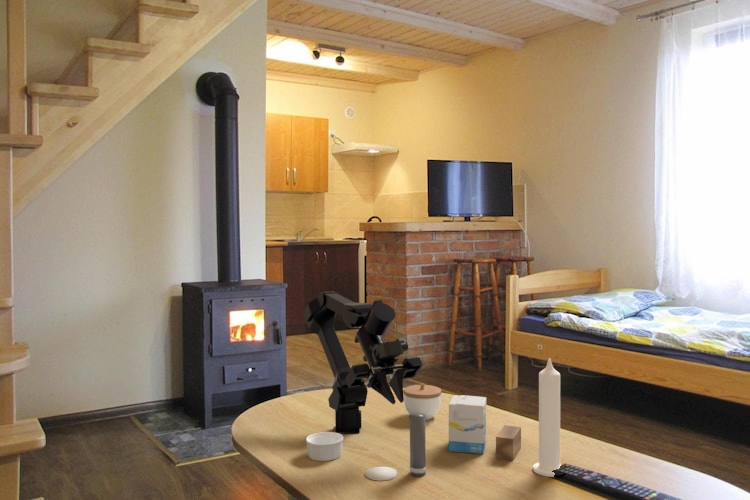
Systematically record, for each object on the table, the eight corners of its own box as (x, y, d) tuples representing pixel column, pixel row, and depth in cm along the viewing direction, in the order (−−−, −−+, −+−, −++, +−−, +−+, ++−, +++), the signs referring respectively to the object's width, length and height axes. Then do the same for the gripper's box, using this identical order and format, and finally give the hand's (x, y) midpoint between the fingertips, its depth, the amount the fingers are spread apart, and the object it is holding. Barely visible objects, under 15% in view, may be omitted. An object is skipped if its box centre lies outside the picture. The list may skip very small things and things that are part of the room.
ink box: (483, 454, 149) (483, 405, 148) (448, 451, 151) (447, 403, 150) (487, 442, 157) (487, 396, 156) (453, 439, 159) (452, 394, 159)
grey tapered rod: (410, 476, 136) (410, 417, 135) (409, 470, 139) (408, 412, 139) (426, 476, 136) (426, 417, 135) (425, 470, 140) (424, 412, 139)
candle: (566, 466, 141) (567, 355, 140) (565, 479, 134) (565, 362, 133) (534, 463, 143) (534, 354, 142) (531, 475, 136) (531, 360, 135)
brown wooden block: (496, 457, 146) (495, 436, 146) (504, 445, 155) (504, 425, 154) (513, 460, 145) (513, 439, 144) (521, 447, 153) (521, 427, 153)
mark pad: (365, 481, 134) (365, 479, 134) (365, 468, 141) (365, 466, 141) (398, 480, 134) (398, 479, 134) (396, 467, 141) (396, 466, 141)
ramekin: (309, 464, 144) (309, 445, 144) (303, 451, 152) (303, 433, 152) (347, 460, 146) (347, 441, 146) (339, 447, 155) (339, 429, 155)
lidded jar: (448, 414, 179) (447, 382, 179) (430, 425, 170) (430, 390, 170) (415, 409, 185) (414, 377, 185) (396, 418, 176) (396, 385, 176)
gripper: (350, 330, 144) (375, 389, 135) (418, 323, 153) (446, 377, 144) (335, 358, 151) (358, 416, 142) (401, 350, 160) (426, 403, 151)
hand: (398, 402), depth 144 cm, fingers closed
